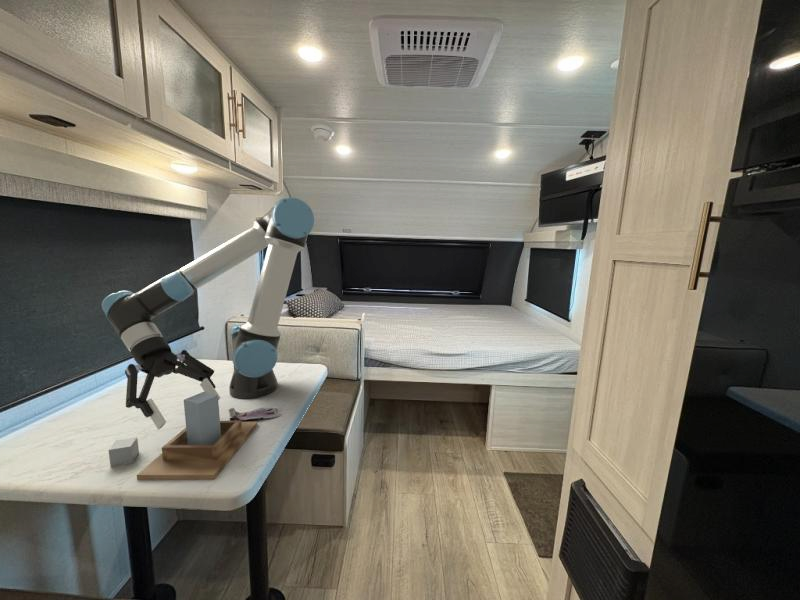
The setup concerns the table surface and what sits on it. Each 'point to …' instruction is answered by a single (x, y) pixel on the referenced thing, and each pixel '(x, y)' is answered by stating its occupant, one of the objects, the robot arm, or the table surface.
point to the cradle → (198, 454)
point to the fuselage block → (202, 419)
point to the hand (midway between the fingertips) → (191, 412)
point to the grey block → (123, 451)
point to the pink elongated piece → (254, 414)
